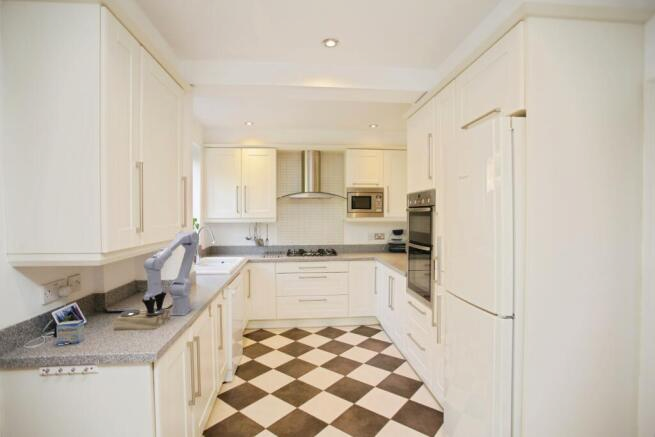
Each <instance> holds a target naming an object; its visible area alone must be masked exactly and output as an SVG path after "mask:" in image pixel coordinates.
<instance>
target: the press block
mask: <svg viewBox="0 0 655 437" xmlns="http://www.w3.org/2000/svg"><path fill="white" fill-rule="evenodd" d="M164 309H165V312H163V313H161V314H159V315H146V311H147V309H139V310H140V314H138V315H135V316H131V317H121V316H120V315H119V316H117V317H115V318H114V319H113V327H114V328H113V330H114V331H126V330H127V331H128V330H132V331H134V330H135V331H136V330H156V329H157V327H158V328H160V327H161V326H162V325H163V324H165V323H166V322H167V321H169V320H170V316H171V315H170V314H171V313H170V308H164ZM160 325H161V326H160Z"/></svg>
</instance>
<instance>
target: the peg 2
mask: <svg viewBox="0 0 655 437" xmlns="http://www.w3.org/2000/svg"><path fill="white" fill-rule="evenodd" d="M165 309H166V308H164V307H162V308H157V307H154V312H153V313H152V314H148V311H146V315H159V314H161V313H163V312H165Z"/></svg>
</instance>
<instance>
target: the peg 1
mask: <svg viewBox="0 0 655 437" xmlns="http://www.w3.org/2000/svg"><path fill="white" fill-rule="evenodd" d="M140 310H141V309H137V308H136V309H129V310H124V311H122V312H120V315H119V316H121V317H131V316H135V315H138V314H140Z"/></svg>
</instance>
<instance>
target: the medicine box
mask: <svg viewBox="0 0 655 437" xmlns="http://www.w3.org/2000/svg"><path fill="white" fill-rule="evenodd" d="M84 323H85V320H84V319H78V320H69V321H61V322H60V323H57V325H56V345H57V344H65V343H77V344H80V343H81V342H82V340H85V324H84ZM79 342H80V343H79Z"/></svg>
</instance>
